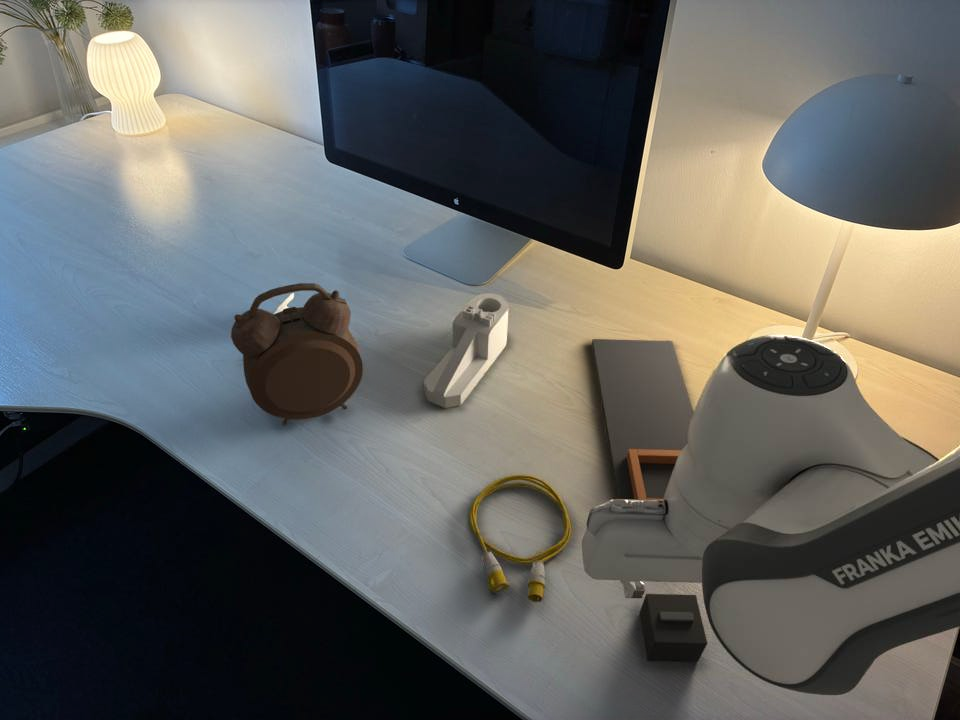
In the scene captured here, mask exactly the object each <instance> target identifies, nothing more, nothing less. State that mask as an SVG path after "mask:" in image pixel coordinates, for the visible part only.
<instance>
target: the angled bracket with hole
mask: <svg viewBox="0 0 960 720" xmlns="http://www.w3.org/2000/svg"><path fill="white" fill-rule="evenodd" d="M509 309H510V306H509V302H508V300H507V299H506V298H505V297H503V296H502V295H500V294H495V293H480V294H477V295H476V296H474V297H472V298H471V299H470V300H469V302H468V303H467V304H466V305H465V306H464V308H462V309H461V311H459V313H458V314H457V315H456V316H455V318H454V319H453V321H452V347H451V348H450V350H448V352H447V353H446V354H445V355H444V357H442V359H440V361H439V362H438V364H437V365H436V366H435V367H434V368H433V369H432V371H431V372H430V373H429V374H428V375H427V376H426V377H425V378H424V380H423V382H424V383H423V384H424V385H423V386H424V393H425V395H426V399H427V400H428V402H429V403H432V404H434V405H437V406H439V407H442V408H444V409H448V408H454V407H459V406H461V405H462V404H463V403H464V402H465V400H466V399H467V398H468V396H469V395H470V394H471V392H472V391H473V390H474V388H475V387H476V386H477V385H478V383H479V382H480V381H481V379H482V378H483V377H484V375H485V374H486V372H487V371H488V370H489V368H490V367H491V366H492V365H493V363H494V362H495V361H496V360H497V358H498V357H499V356H500V354H501V353H502V352H503V350H504V349H505V348H506V346H507V340H508V324H509Z"/></svg>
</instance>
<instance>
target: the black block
mask: <svg viewBox="0 0 960 720" xmlns="http://www.w3.org/2000/svg"><path fill="white" fill-rule="evenodd" d="M638 614H639V621H640V627H641V633H642V638H643V645H644V651H645V656H646V657H645V658H646V661H647V662H666V663H667V662H670V663H672V662H673V663H698V662H699V660H700V659H701V657H702V655H703V653H704V651H705V649H706V647H707V645H708V640H707V635H706V632H705V631H706V630H705V627H704V623H703V619H702V614H701V611H700V605H699V602H698V597H697V595H696V594H675V593H674V594H673V593H645V595H644V598H643V602H642V604H641V607H640V610H639V613H638Z"/></svg>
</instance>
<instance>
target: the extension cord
mask: <svg viewBox="0 0 960 720" xmlns="http://www.w3.org/2000/svg"><path fill="white" fill-rule="evenodd" d="M511 481H525V482H512V483H507V482H511ZM528 482H529V483H528ZM505 483H506V484H505ZM531 483H533V484H531ZM502 484H503V485H502ZM510 487H528V488H533V489H535V490H538V491H540V492H542V493H543V494H545V495H546V496H548V497H549V498H551V499H552V500H553V501H554V502H555V504H557V505H558V507H559V508H560V509H561V513H562V517H563V525H564V534H563V536H562V538H561V539H560V541H558V542H557V543H556V544H554V545H552V546H550V547H549V548H547V549H545V550H543V551H541V552H539V553H538V554H534V555H532V556H529V557H519V556H516V555H512V554H510V553H507V552H504V551H502V550H500V549H498V548H496V547H495V546H493V545H491V544H490V543H489V542H487V541H486V540H485V539H484V538H483V537H482V535H481V532H480V531H479V528H478V524H477V514H478V509H479V505H480V503H481V502H482V501H483V500H484V499H485V498H486V497H487V496H489V495H491V494H493V493H494V492H497V491H500V490H502V489H506V488H510ZM468 522H469V525H470V528H471V529H472V532H473V533H474V535H475V536H476V537H477V540H479V542H480V545H481V547H482V550H483V554H482V555H481V557H480V558H481V560H482V562H483V564H482V566H483V569H484V573H485V576H486V579H487V580H488V581H487V582H488V584H487V588H488V589H490V590H491V591H492V592H493V593H495V594H496V593H501V592H504V591H505V590H507V589H508V588H509V587H510V584H509V583H508V581H507V579H506V577H505V574H504V571H503V569H502V567H501V564H500V563H499V562H498V560H497V559H496V557H495V556H494V554H496V555H497V556H499V557H501V558H502V559H505V560H507V561H510V562H512V563H515V564H519V565H532V566H531V569H530V573H529V576H528V581H527V587H528V591H527V599H528V600H529V601H531V602H534V603H542V601H543V597H544V590H545V589H546V572H545V563H544V562H546V561H548V560H550V559H553V558H554V557H555V556H557V555H558V554H560V553H561V551H563V550H564V548H566V546H567V545H568V543H569V541H570V539H571V534H572V526H571V524H572V523H571V521H570V518H569V515H568V512H567V509H566V507H565V505H564V501H562V498H561V497H560V495H559V493H557V491H556V490H555V489H554V488H553V487H552V486H551V484H549V483H548V482H546V481H545V480H543V479H541V478H539V477H536V476H533V475H528V474H513V475H512V474H511V475H508V476H504V477H501V478H499V479H497V480H495V481H493V482H491V483H490V484H488V485H487V486H486V487H485V488H484V489H482V490H481V491H480V493H478V495H477V496H476V498H474V501H473V503H472V505H471V507H470V508H469V513H468ZM487 549H488V550H489V551H488V550H487ZM493 553H494V554H493Z"/></svg>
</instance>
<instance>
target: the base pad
mask: <svg viewBox="0 0 960 720" xmlns="http://www.w3.org/2000/svg"><path fill="white" fill-rule="evenodd" d="M591 341H592V342H591V348H592V355H593V360H594V366H595V373H596V379H597V385H598V390H599V398H600V403H601V410H602V415H603V422H604V427H605V433H606V440H607V446H608V452H609V458H610V464H611V465H610V466H611V470H612V476H613V477H612V478H613V483H614V489H615V494H616V499H626V500H663V498H664V495H665V492H666V489H667V486H668V484H669V480H670V478H671V475H672V472H673V469H674V466H675V464H676V461H677V458H678V456H679V454H680V453H681V451H682V450H683V448H684V447H685V446H686V445H687V444H688V438H687V437H688V427H689V424H690V421H691V418H692V415H693V413H694V408H693V405H692V402H691V398H690V396H689V392H688V388H687V386H686V382H685V378H684V376H683V372H682V369H681V365H680V361H679V359H678V355H677V352H676V348H675V345H674V342H673V340H647V339H646V340H644V339H643V340H642V339H608V338H607V339H606V338H604V339H603V338H592V340H591Z"/></svg>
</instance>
